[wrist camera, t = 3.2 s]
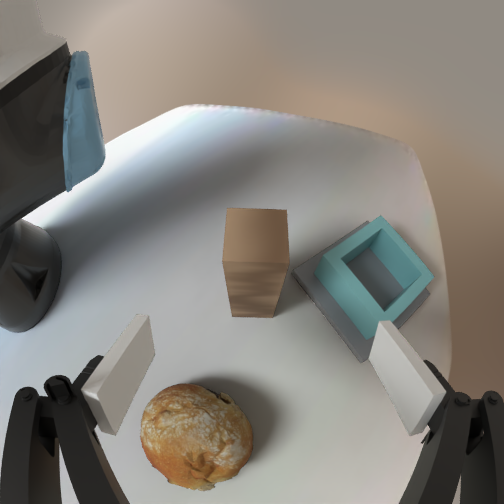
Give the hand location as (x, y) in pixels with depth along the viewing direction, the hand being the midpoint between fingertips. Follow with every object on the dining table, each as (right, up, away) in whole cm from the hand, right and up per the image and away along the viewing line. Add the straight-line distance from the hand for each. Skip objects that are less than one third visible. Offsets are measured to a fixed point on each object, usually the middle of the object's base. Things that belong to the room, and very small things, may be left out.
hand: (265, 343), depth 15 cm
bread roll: (-6, -12, +7) cm, 15 cm away
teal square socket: (+12, +1, +14) cm, 18 cm away
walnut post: (-1, 0, +13) cm, 13 cm away
